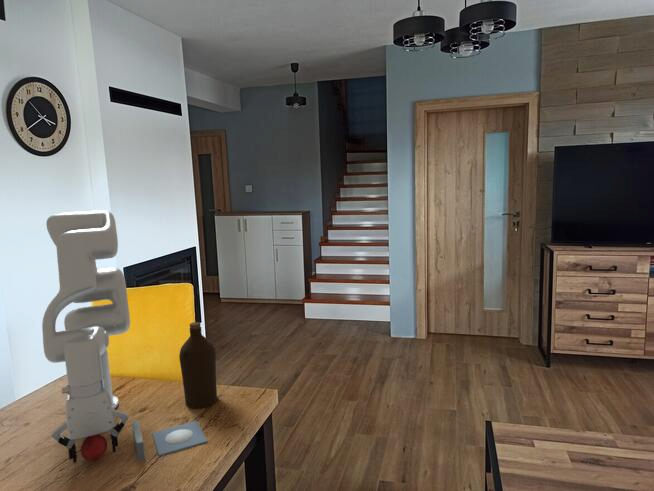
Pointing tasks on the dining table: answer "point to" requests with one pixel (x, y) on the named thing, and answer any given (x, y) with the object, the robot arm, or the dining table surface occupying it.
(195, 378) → the olive oil
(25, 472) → the dining table surface
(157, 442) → the mat
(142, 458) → the low wall
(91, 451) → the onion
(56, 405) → the dining table surface
